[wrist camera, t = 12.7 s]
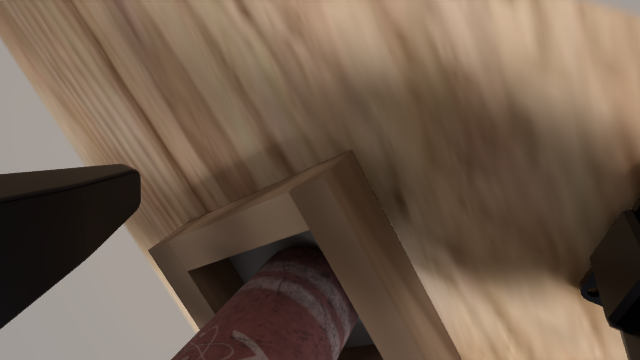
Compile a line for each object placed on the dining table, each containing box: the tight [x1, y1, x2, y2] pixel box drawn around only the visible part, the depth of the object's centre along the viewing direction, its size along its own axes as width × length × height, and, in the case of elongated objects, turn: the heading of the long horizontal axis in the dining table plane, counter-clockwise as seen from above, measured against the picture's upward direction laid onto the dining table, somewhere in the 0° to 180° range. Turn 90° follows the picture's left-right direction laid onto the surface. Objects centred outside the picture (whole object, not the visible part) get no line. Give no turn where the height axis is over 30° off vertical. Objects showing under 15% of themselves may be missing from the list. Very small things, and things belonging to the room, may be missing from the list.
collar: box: [148, 150, 461, 360], centre depth 23 cm, size 13×13×4 cm
